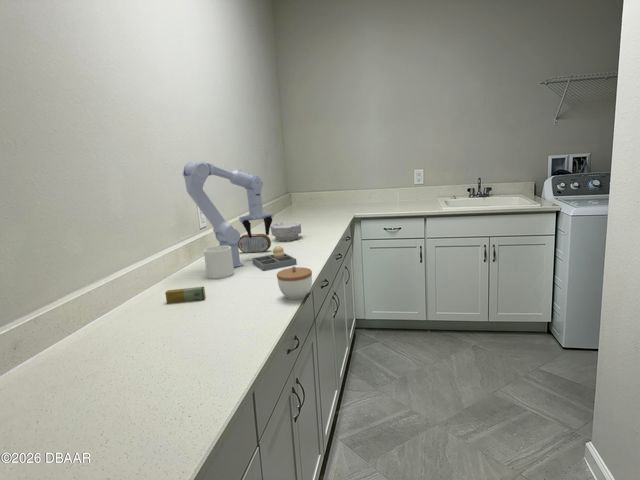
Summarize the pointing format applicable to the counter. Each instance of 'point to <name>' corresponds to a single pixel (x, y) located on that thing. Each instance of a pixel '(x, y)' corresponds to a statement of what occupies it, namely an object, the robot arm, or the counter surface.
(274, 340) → the counter surface
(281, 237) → the paper bowls
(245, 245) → the tin
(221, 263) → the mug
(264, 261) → the grey compartment tray
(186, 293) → the medication box
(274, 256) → the egg
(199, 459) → the counter surface
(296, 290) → the lidded jar
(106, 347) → the counter surface
